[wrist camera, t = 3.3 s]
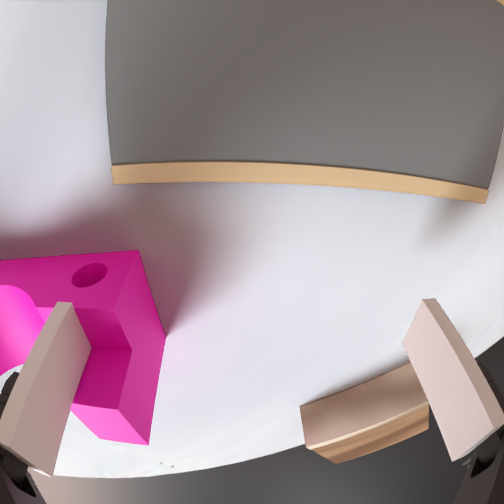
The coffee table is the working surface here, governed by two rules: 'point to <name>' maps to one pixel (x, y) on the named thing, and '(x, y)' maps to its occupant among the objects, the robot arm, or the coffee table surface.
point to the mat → (307, 93)
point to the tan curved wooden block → (366, 416)
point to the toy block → (91, 333)
